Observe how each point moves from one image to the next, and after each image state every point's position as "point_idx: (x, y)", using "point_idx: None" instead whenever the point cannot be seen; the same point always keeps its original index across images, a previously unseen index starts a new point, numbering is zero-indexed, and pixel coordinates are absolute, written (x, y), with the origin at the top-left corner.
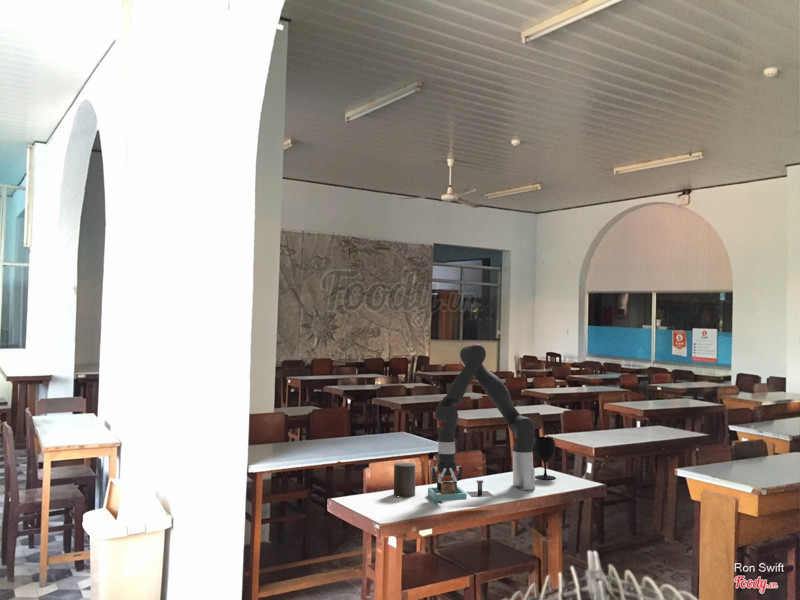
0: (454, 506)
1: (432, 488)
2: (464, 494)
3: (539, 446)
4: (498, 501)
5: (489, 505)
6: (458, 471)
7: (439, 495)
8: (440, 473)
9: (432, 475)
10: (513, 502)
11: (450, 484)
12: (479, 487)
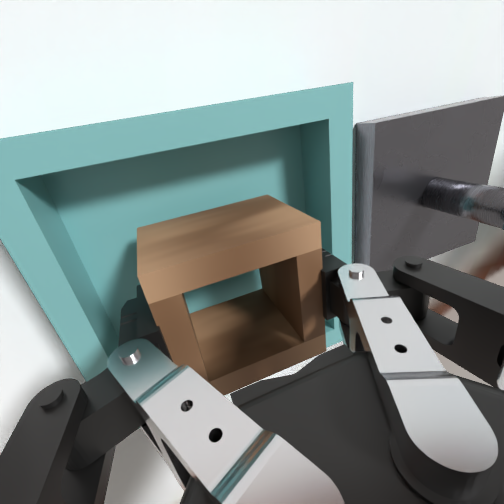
0: None
1: (38, 173)
2: (336, 340)
3: None
4: (457, 262)
5: None
6: (500, 343)
7: None
8: (188, 428)
9: (2, 496)
10: (496, 269)
11: (280, 367)
12: (473, 220)
